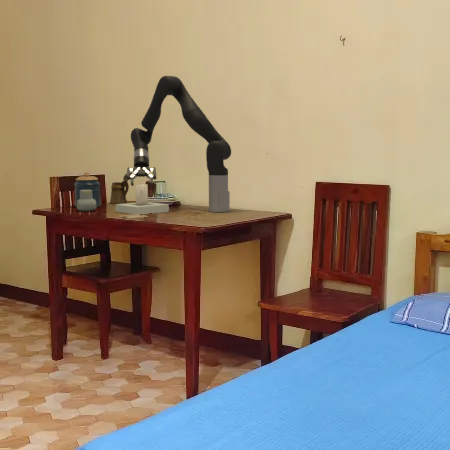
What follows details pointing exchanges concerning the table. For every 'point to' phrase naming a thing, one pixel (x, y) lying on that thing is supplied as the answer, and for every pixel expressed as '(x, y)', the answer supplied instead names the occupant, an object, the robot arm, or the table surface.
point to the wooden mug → (119, 191)
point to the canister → (87, 187)
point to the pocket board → (142, 208)
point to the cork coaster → (133, 216)
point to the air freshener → (86, 201)
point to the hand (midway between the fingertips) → (141, 184)
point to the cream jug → (141, 194)
